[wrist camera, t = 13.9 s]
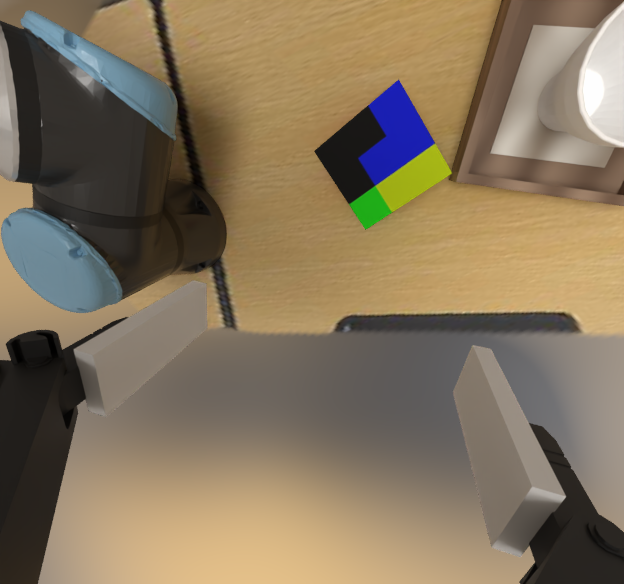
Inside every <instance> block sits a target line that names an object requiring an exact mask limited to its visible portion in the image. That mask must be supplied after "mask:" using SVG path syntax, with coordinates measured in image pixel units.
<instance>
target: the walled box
mask: <svg viewBox="0 0 624 584" xmlns="http://www.w3.org/2000/svg"><path fill="white" fill-rule="evenodd" d="M623 2H624V0H502V2H501V6H500V9H499V12H498V16H497V19H496V22H495V26H494V29H493V33H492V36H491V39H490V43H489V46H488V50H487V53H486V56H485V60H484V63H483V66H482V70H481V73H480V77H479V80H478V83H477V87H476V90H475V93H474V97H473V100H472V104H471V107H470V110H469V114H468V117H467V121H466V124H465V127H464V131H463V134H462V137H461V141H460V144H459V148H458V151H457V154H456V158H455V161H454V165H453V168H452V171H451V172H452V174H451V175H450V178H449V180H451V181H455V182H460V183H467V184H474V185H481V186H488V187H495V188H502V189H509V190H516V191H523V192H529V193H536V194H543V195H550V196H557V197H564V198H571V199H578V200H585V201H592V202H599V203H606V204H612V205H619V206H624V148H619V147H609V146H600V145H597V144H594V143H591V142H587V141H584V140H582V139H579V138H577V137H574V136H572V135H570V134H569V133H567V132H561V131H553V130H551V129H549V128H547V127H546V126H545V125H543V124H542V122H541V120H540V119H539V116H538V110H537V109H538V101H539V98H540V95H541V93H542V91H543V89H544V88H545V86H546V85H547V84H548V83H549V81H550V80H551V79H552V78H553V77H554V76H556V75H557V74H558V73H559V72H561V70H562V69H563V68H564V66H565V65H566V63H567V62H568V60H569V58H570V57H571V55H572V54H573V53H574V52H575V50H576V49H577V48H578V47H579V46H580V45H581V43H582V42H583V41H584V40H585V39H586V38H587V36H588V35H589V34H590V33H591V32H592V31H593V30H594V29H595V28H596V27H597V26H598V25H599V24H600V22H601V21H602V20H603V19H604V18H605V17H606V16H607V15H609V14H610V13H611V12H612V11H613V10H614V9H616V8H617V7H618V6H619V5H620V4H621V3H623Z"/></svg>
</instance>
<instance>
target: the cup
mask: <svg viewBox="0 0 624 584" xmlns="http://www.w3.org/2000/svg"><path fill="white" fill-rule="evenodd" d="M537 110H538V116H539V119H540V120H541V122H542V124H543V125H545V126H546V127H547V128H549V129H551V130H553V131H561V132H567V133H569V134H570V135H572V136H574V137H577V138H579V139H582V140H584V141H587V142H591V143H594V144H597V145H600V146H609V147H619V148H624V2H623V3H621V4H620V5H619V6H618V7H617V8H616V9H614V10H613V11H612V12H611V13H610V14H609V15H607V16H606V17H605V18H604V19H603V20H602V21H601V22H600V24H599V25H598V26H597V27H596V28H595V29H594V30H593V31H592V32H591V33H590V34H589V35H588V36H587V38H586V39H585V40H584V41H583V42H582V43H581V45H580V46H579V47H578V48H577V49H576V50H575V52H574V53H573V54H572V55H571V57H570V58H569V60H568V62H567V63H566V65H565V66H564V68H563V69H562V70H561V72H559V73H558V74H557V75H556V76H554V77H553V78H552V79H551V80H550V81H549V83H548V84H547V85H546V86H545V88H544V89H543V91H542V93H541V95H540V98H539V101H538V109H537Z"/></svg>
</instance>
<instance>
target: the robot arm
mask: <svg viewBox="0 0 624 584" xmlns="http://www.w3.org/2000/svg"><path fill="white" fill-rule="evenodd" d="M21 25H22V26H23V27H24V29H20V28H18V27H15V26H12V25H10V24H7V23H5V22H2V21H0V175H1V176H3V177H4V178H5V179H6V180H9V181H13V182H22V183H31V184H32V187H33V207H32V208H22V209H18V210H17V211H16V212H14V213H11V214H10V215H9V217H8V218H6V219H5V220H4V221H3V224H2V228H1V236H2V242H3V245H4V249H5V251H6V254H7V256H8V258H9V260H10V261H11V263H12V265H13V267H14V268H15V270H16V271H17V272H18V274H19V275H20V276H21V278H22V279H23V280H24V281H25V282H26V283H27V284H28V285H29V286H30V287H31V288H32V289H33V290H34V291H35V292H36V293H37V294H39V295H40V296H41V297H42V298H44V299H45V300H46V301H48V302H50V303H52V304H53V305H55V306H57V307H59V308H61V309H64V310H67V311H71V312H76V313H88V312H92V311H96V310H98V309H100V308H103V307H105V306H107V305H112V304H116V303H118V302H119V301H121V300H122V299H124V298H126V297H128V296H130V295H132V294H134V293H136V292H138V291H140V290H142V289H143V288H145V287H147V286H149V285H151V284H153V283H155V282H157V281H159V280H161V279H163V278H165V277H166V276H168V275H181V274H194V273H198V272H201V271H203V270H205V269H207V268H208V267H210V266H212V265H213V264H214V263H216V262H217V260H218V259H219V258H220V256H221V255H222V253H223V250H224V247H225V243H226V227H225V222H224V219H223V216H222V213H221V211H220V209H219V207H218V206H217V204H216V202H215V201H214V200H213V198H212V197H211V196H210V195H209V194H208V193H207V192H206V191H205V190H203V189H202V188H201V187H199V186H198V185H196V184H194V183H192V182H189V181H186V180H181V179H172V180H168V176H169V170H170V164H171V158H172V152H173V146H174V141H176V135H175V127H176V117H177V100H176V97H175V95H174V93H173V91H172V90H171V88H170V87H169V86H168V85H167V84H165V83H164V82H162V81H161V80H159V79H157V78H155V77H154V76H152V75H150V74H148V73H146V72H145V71H143V70H141V69H139V68H137V67H135V66H134V65H132V64H130V63H128V62H126V61H125V60H123V59H121V58H119V57H117V56H115V55H113V54H112V53H110V52H108V51H106V50H104V49H102V48H100V47H99V46H97V45H95V44H93V43H91V42H89V41H87V40H85V39H84V38H81V37H80V36H78V35H76V34H74V33H72V32H71V31H69V30H67V29H65V28H63V27H61V26H60V25H58V24H56V23H54V22H52V21H50V20H49V19H47V18H45V17H43V16H41V15H39V14H37V13H36V12H33V11H26V13H25V15H24V17H23V18H22V19H21ZM206 329H207V291H206V283H203V282H199V281H194V280H193V281H191V282H189V283H188V284H186V285H184V286H182V287H181V288H179V289H177V290H175V291H174V292H172V293H170V294H169V295H167V296H165V297H163V298H162V299H160V300H158V301H156V302H155V303H153V304H151V305H149V306H148V307H146V308H144V309H143V310H141V311H139V312H138V313H136V314H134V315H132V316H130V317H125V318H122V319H119V320H116V321H113V322H111V323H110V324H108V325H106V326H104V327H103V328H102V329H99V330H97V331H95V332H94V333H93V334H90V335H88V336H86V337H85V338H83V339H81V340H79V341H77V342H76V343H74V344H72V345H70V346H69V347H67V348H65V349H63V350H62V348H61V344H60V340H59V336H58V334H57V333H56V332H54V331H50V330H36V331H31V332H27V333H23V334H20V335H18V336H16V337H14V338H12V339H10V340H9V341H8V342H7V343H6V346H7V349H8V352H9V355H10V358H11V361H8V360H7V361H6V360H0V584H38V580H39V576H40V572H41V567H42V563H43V559H44V555H45V551H46V547H47V542H48V538H49V534H50V530H51V525H52V521H53V517H54V513H55V508H56V504H57V500H58V496H59V491H60V487H61V483H62V479H63V475H64V470H65V466H66V461H67V458H68V453H69V449H70V445H71V441H72V436H73V432H74V428H75V424H76V420H77V415H78V409H77V405H78V404H80V402H82V401H83V400H85V399H86V403H87V407H88V411H89V412H92V413H95V414H98V415H101V416H104V417H107V416H108V415H109V414H110V413H111V412H113V411H114V410H115V409H116V408H117V407H118V406H119V405H121V404H122V403H123V402H124V401H125V400H126V399H127V398H129V397H130V396H131V395H132V394H133V393H134V392H135V391H137V390H138V389H139V388H140V387H141V386H142V385H143V384H144V383H146V382H147V381H148V380H149V379H150V378H151V377H152V376H154V375H155V374H156V373H157V372H158V371H159V370H160V369H162V368H163V367H164V366H165V365H166V364H167V363H168V362H170V361H171V360H172V359H173V358H174V357H175V356H177V354H179V353H180V352H181V351H182V350H183V349H184V348H185V347H187V346H188V345H189V344H190V343H191V342H192V341H194V340H195V339H196V338H197V337H198V336H199V335H200V334H201V333H202V332H204V331H205V330H206ZM453 395H454V399H455V403H456V407H457V411H458V415H459V419H460V422H461V427H462V431H463V435H464V439H465V443H466V447H467V451H468V455H469V459H470V463H471V467H472V471H473V475H474V479H475V483H476V487H477V491H478V495H479V499H480V503H481V507H482V511H483V515H484V519H485V523H486V527H487V531H488V535H489V539H490V544H491V547H492V548H495V549H497V550H500V551H503V552H506V553H509V554H512V555H515V556H518V557H521V556H522V554H523V553H524V552H525V550H526V549H527V548H528V546H529V545H530V548H531V551H532V554H533V557H534V560H535V563H534V564H533V566H532V567H531V568H530V569H529V571H528V572H527V573H526V574H525V576H524V577H523V578H522V579H521V580H520V584H624V532H623V531H622V530H620V529H619V528H618V527H617V526H616V525H615V524H614V523H612V522H610V521H608V520H607V519H606V518H604V517H602V516H601V515H599V514H598V513H597V511H596V509H595V507H594V506H593V504H592V502H591V500H590V499H589V497H588V495H587V494H586V492H585V490H584V488H583V487H582V485H581V483H580V481H579V480H578V478H577V476H576V474H575V473H574V471H573V470H572V469H571V466H570V464H569V462H568V461H567V459H566V458H565V457H564V454H563V452H562V450H561V448H560V447H559V445H558V443H557V441H556V440H555V439H554V438H553V437H552V436H551V435H550V434H549V433H548V432H547V431H546V430H545V429H544V428H543V427H542V426H538V425H534V424H530V423H528V421H527V419H526V417H525V415H524V413H523V411H522V409H521V407H520V406H519V403H518V401H517V399H516V397H515V396H514V393H513V392H512V390H511V388H510V386H509V384H508V382H507V380H506V378H505V376H504V374H503V372H502V370H501V368H500V366H499V364H498V362H497V360H496V358H495V356H494V354H493V352H492V350H491V349H487V348H483V347H479V346H475V345H472V348H471V350H470V352H469V355H468V357H467V360H466V362H465V365H464V367H463V369H462V372H461V374H460V377H459V379H458V381H457V384H456V386H455V389H454V391H453Z"/></svg>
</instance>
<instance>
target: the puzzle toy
mask: <svg viewBox="0 0 624 584" xmlns="http://www.w3.org/2000/svg"><path fill="white" fill-rule="evenodd" d="M314 152H315V153H316V155H317V156H318V158H319V159H320V161H321V162H322V164H323V165H324V167H325V168H326V170H327V172H328V173H329V175H330V176H331V178H332V179H333V181H334V182H335V184H336V185H337V187H338V188H339V190H340V191H341V193H342V194H343V196H344V198H345V199H346V201H347V202H348V204H349V205H350V207H351V208H352V210H353V211H354V213H355V214H356V216H357V217H358V219H359V220H360V222H361V223H362V225H363V227H364V228H365V230H366V229H368V228H369V227H371V226H372V225H374V224H375V223H377V222H378V221H380V220H381V219H383V218H384V217H386V216H388V215H389V214H391V213H392V212H394V211H395V210H397V209H398V208H400V207H401V206H403V205H404V204H406V203H407V202H409V201H411V200H412V199H414V198H415V197H417V196H418V195H420V194H421V193H423V192H424V191H426V190H427V189H429V188H430V187H432V186H434V185H435V184H437V183H438V182H440V181H441V180H443V179H444V178H446V177H447V176H449V175H450V174H452V172H451V170H450V168H449V167H448V165H447V163H446V161H445V160H444V158H443V156H442V154H441V153H440V151H439V149H438V147H437V146H436V144H435V142H434V140H433V139H432V137H431V135H430V133H429V132H428V130H427V128H426V126H425V125H424V123H423V121H422V119H421V118H420V116H419V114H418V112H417V111H416V109H415V107H414V105H413V104H412V102H411V100H410V98H409V97H408V95H407V93H406V91H405V90H404V88H403V86H402V84H401V83H400V81H399V80H398V81H396V82H395V83H394V84H393V85H392V86H391V87H389V88H388V89H387V90H386V91H385V92H383V93H382V94H381V95H380V96H379V97H378V98H376V99H375V100H374V101H373V102H372V103H370V104H369V105H368V106H367V107H366V108H365V109H363V110H362V111H361V112H360V113H359V114H357V115H356V116H355V117H354V118H353V119H352V120H350V121H349V122H348V123H347V124H346V125H344V126H343V127H342V128H341V129H340V130H339V131H337V132H336V133H335V134H334V135H333V136H332V137H330V138H329V139H328V140H327V141H326V142H324V143H323V144H322V145H321V146H320V147H319V148H317V149H316V150H315V151H314Z"/></svg>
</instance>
